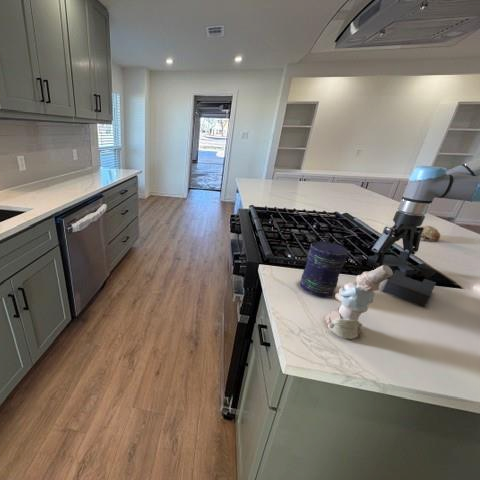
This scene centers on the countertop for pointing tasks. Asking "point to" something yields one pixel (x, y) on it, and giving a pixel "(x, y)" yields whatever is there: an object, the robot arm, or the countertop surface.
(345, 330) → the figurine
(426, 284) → the base pad
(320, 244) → the storage jar
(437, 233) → the bread roll
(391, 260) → the loose pad
